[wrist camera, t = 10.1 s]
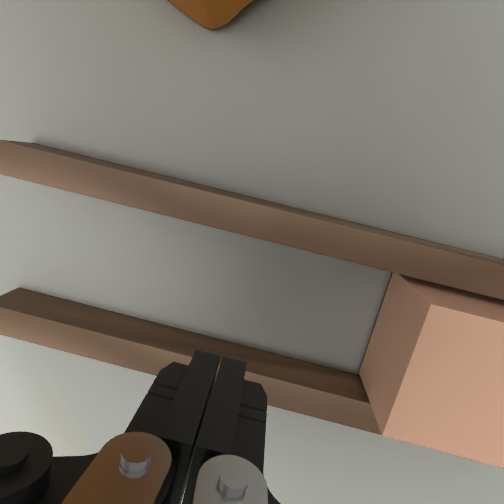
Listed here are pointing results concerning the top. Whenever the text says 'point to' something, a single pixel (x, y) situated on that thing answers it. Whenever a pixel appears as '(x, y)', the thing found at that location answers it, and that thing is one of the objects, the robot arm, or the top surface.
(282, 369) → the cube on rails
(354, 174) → the top surface
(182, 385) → the robot arm
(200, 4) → the coffee package
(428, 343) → the block
